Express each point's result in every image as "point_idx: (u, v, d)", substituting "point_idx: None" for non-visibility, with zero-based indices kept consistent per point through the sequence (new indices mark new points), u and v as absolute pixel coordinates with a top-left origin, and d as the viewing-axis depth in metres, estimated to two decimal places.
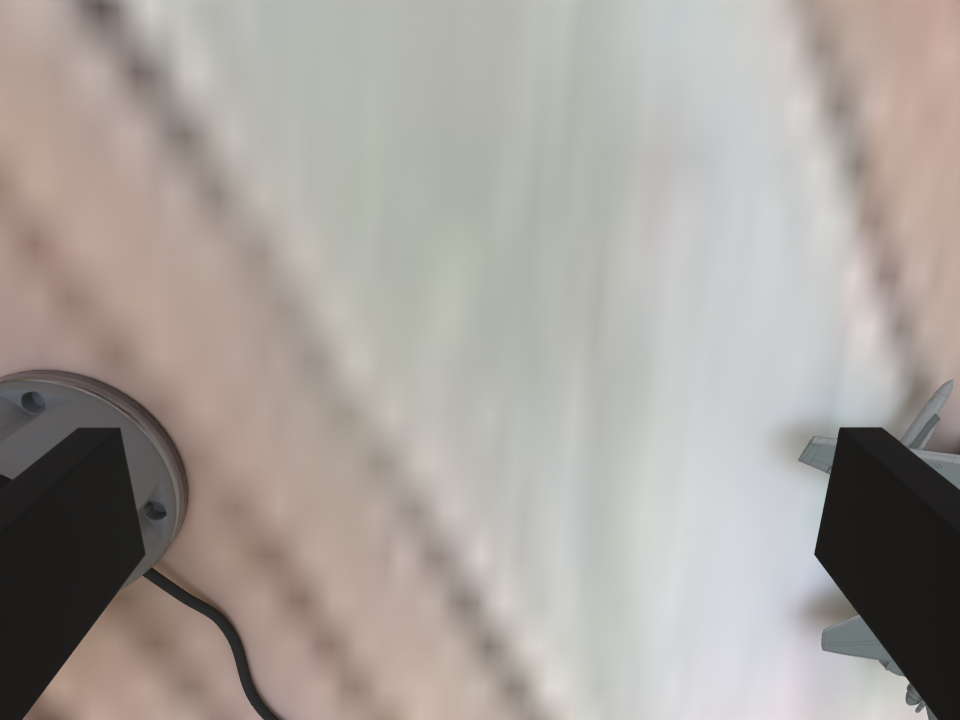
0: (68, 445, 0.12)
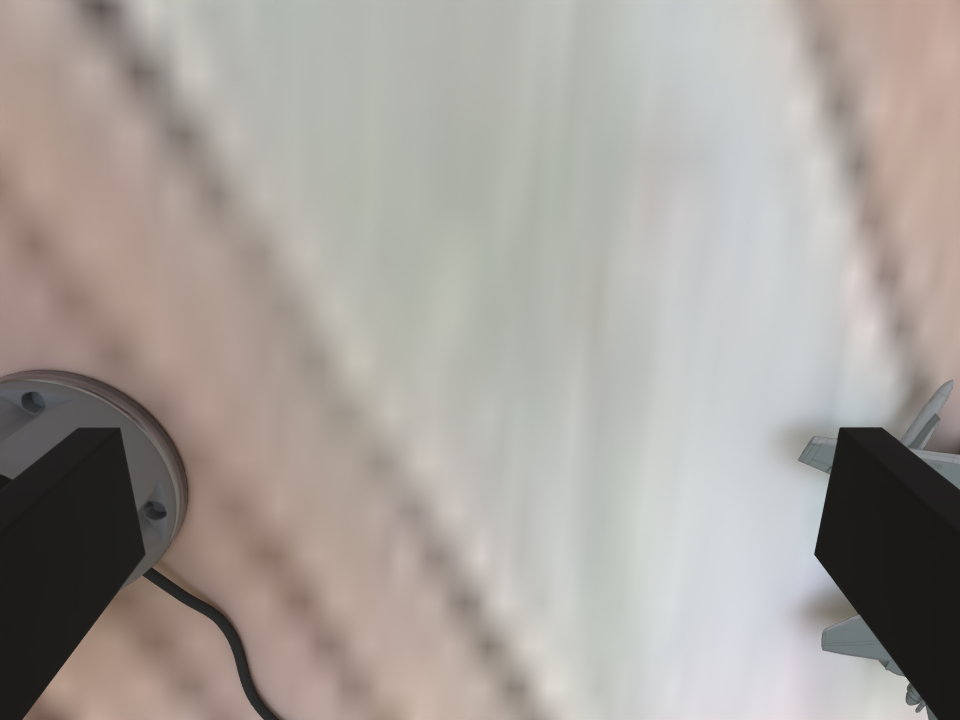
0: (68, 445, 0.12)
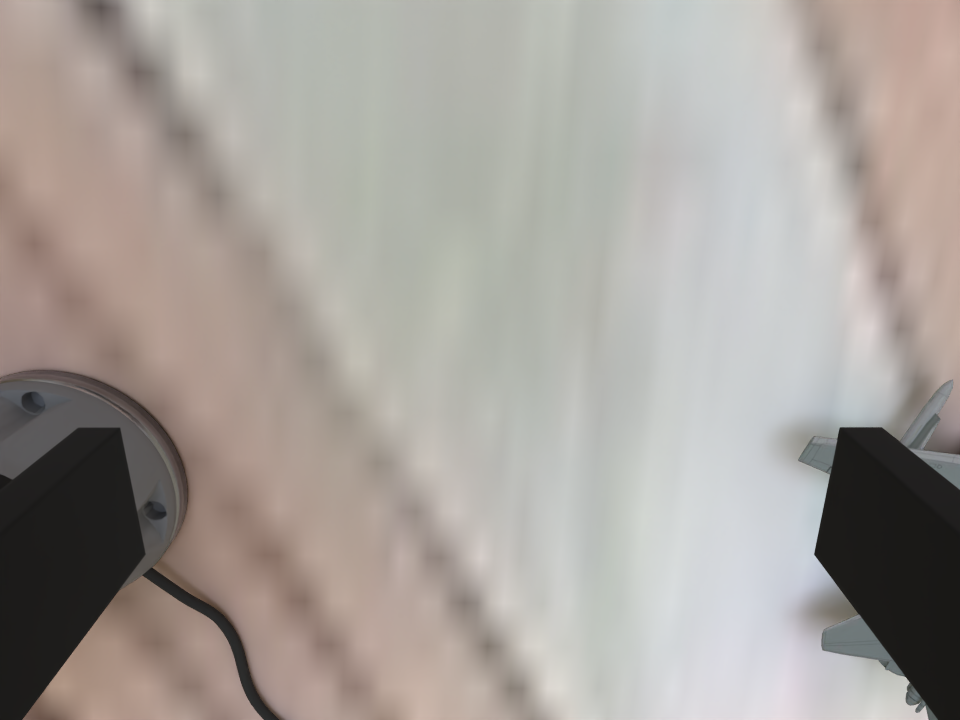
0: (68, 445, 0.12)
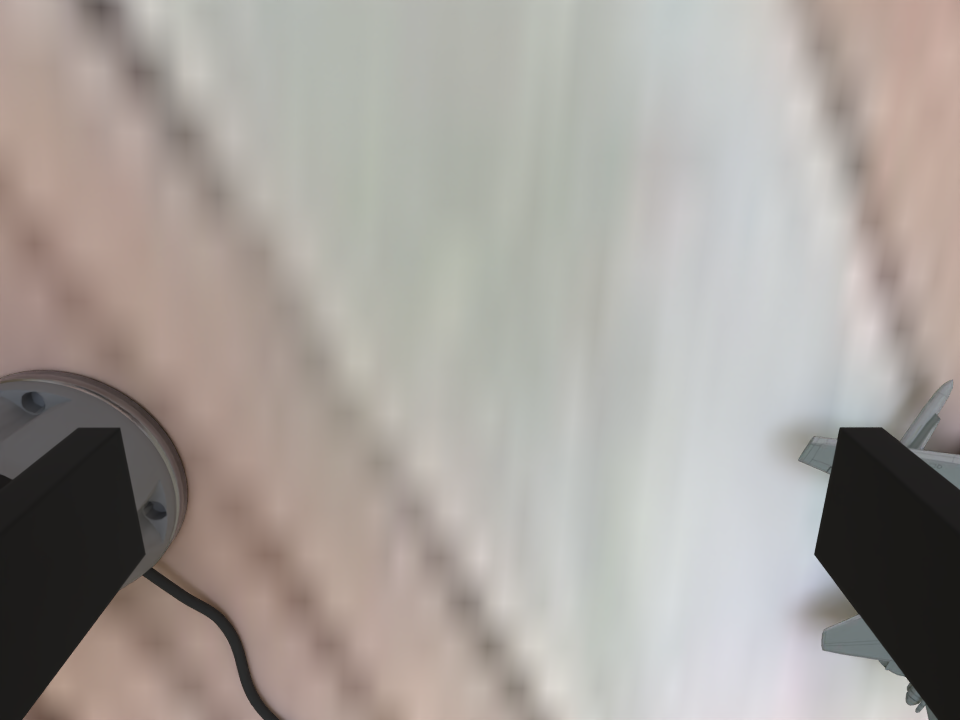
0: (68, 445, 0.12)
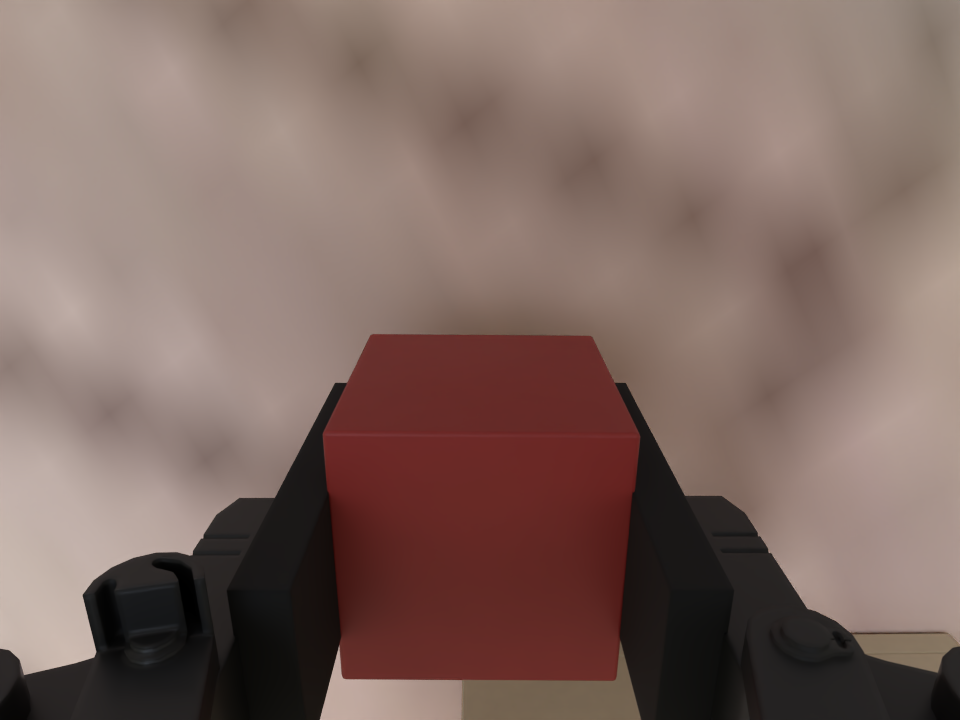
0: (339, 395, 0.14)
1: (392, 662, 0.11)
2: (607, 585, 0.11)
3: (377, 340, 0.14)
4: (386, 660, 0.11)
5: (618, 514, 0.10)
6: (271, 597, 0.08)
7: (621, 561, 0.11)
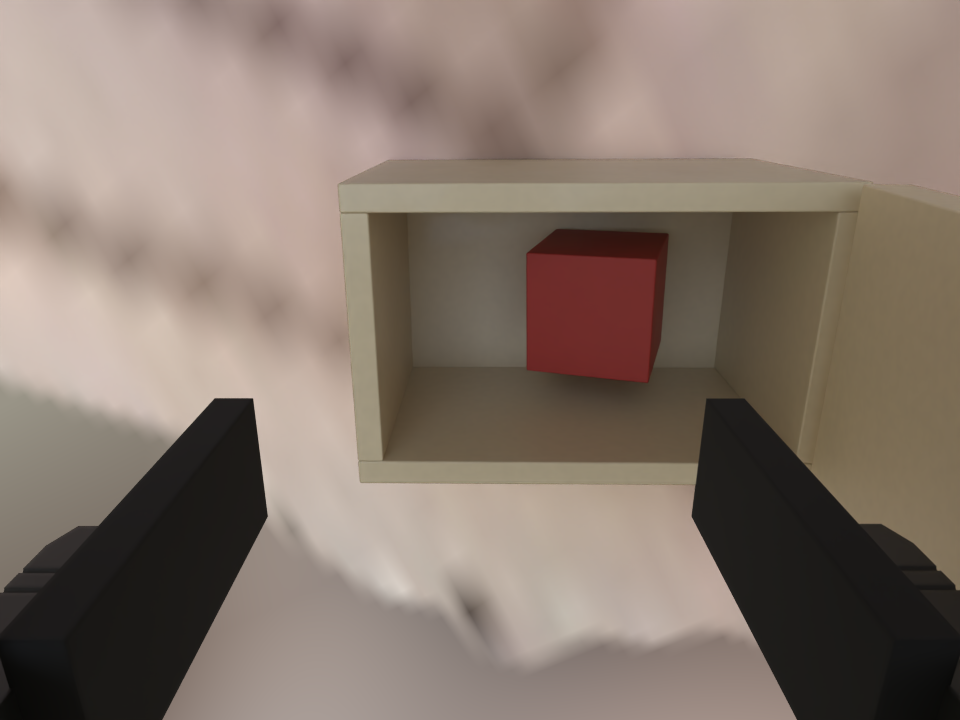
0: (212, 412, 0.13)
1: (651, 365, 0.25)
2: (663, 299, 0.28)
3: (540, 251, 0.25)
4: (651, 365, 0.25)
5: None
6: (46, 647, 0.07)
7: (664, 286, 0.28)
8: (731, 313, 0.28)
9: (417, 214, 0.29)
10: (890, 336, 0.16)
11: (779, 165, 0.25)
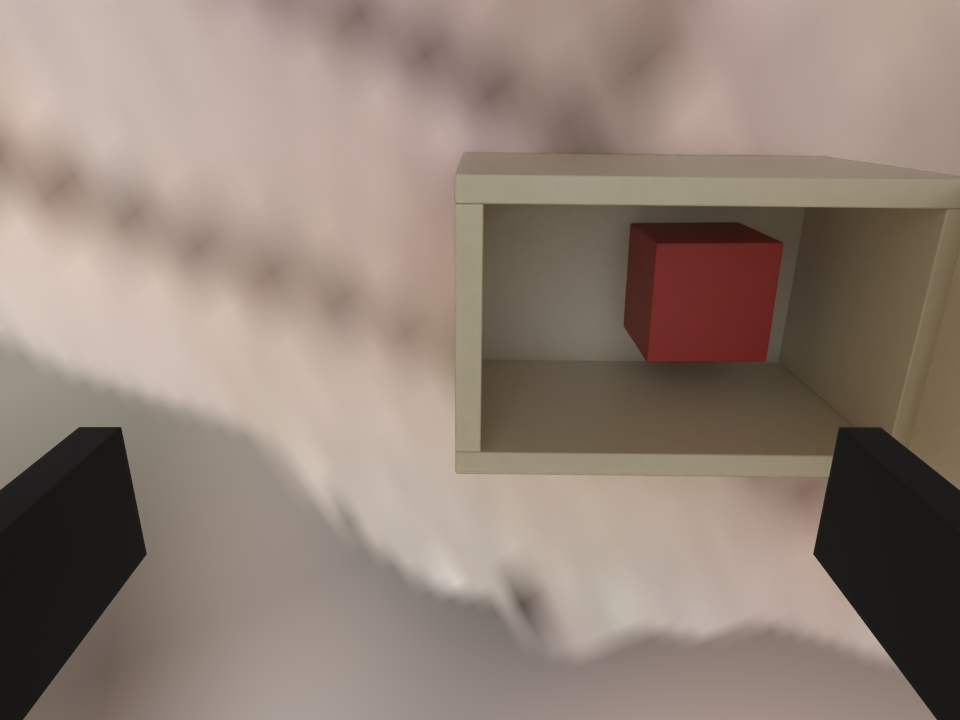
0: (69, 444, 0.12)
1: None
2: None
3: (668, 241, 0.25)
4: None
5: None
6: None
7: None
8: (802, 309, 0.29)
9: (493, 207, 0.29)
10: None
11: (863, 163, 0.25)
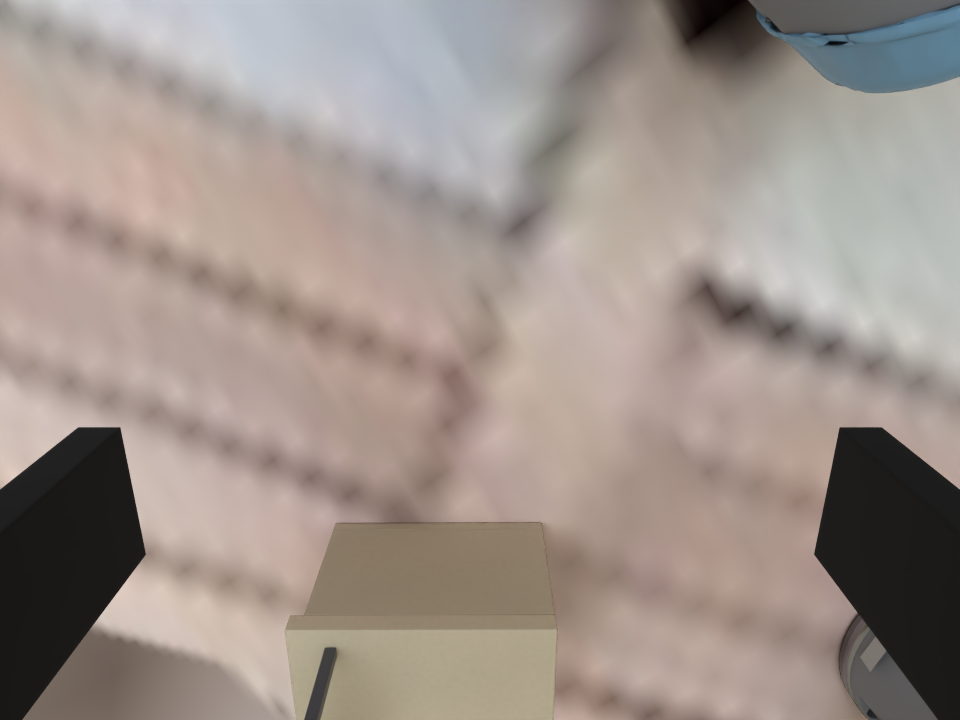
0: (68, 445, 0.12)
1: None
2: None
3: None
4: None
5: None
6: None
7: None
8: None
9: None
10: None
11: (541, 553, 0.47)
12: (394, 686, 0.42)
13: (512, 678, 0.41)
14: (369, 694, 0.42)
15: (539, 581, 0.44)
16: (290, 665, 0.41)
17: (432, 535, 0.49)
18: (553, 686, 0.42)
